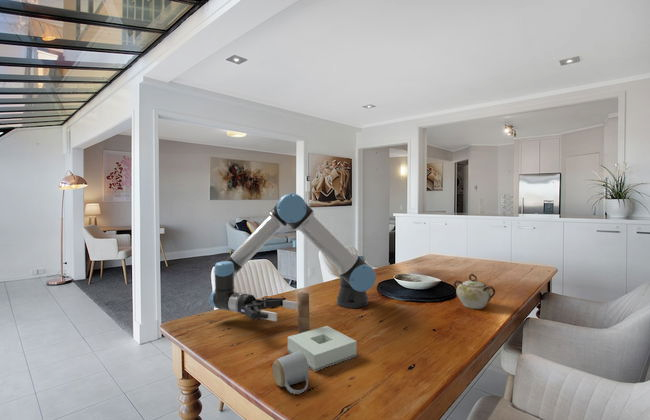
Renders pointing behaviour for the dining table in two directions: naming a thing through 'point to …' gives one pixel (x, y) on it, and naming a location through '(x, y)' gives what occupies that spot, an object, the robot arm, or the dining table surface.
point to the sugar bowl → (473, 293)
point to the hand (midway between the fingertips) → (287, 311)
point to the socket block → (323, 347)
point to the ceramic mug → (291, 371)
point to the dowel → (303, 312)
